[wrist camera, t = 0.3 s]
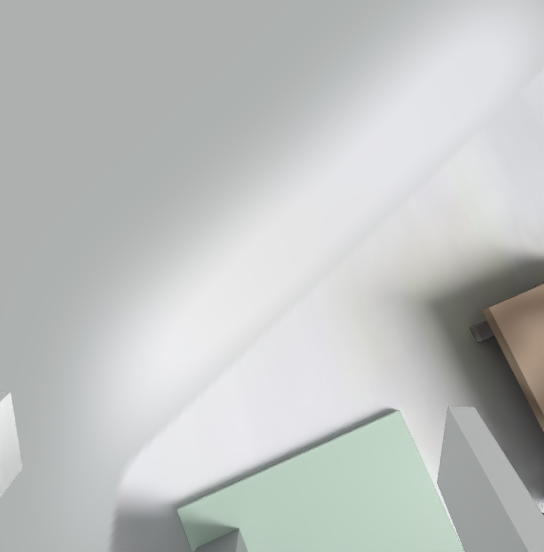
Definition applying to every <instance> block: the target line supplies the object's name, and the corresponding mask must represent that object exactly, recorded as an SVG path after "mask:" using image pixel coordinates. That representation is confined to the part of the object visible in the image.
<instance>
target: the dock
mask: <svg viewBox="0 0 544 552" xmlns="http://www.w3.org/2000/svg"><path fill="white" fill-rule="evenodd" d="M482 312H483V314H484V316H485V318H486V320H487V321H485V322H483V323H480V324H478V325H476V326H473V327H471V328H470V329H471V331H472V333H473V335H474V337H475V339H476V341H477V342H480V341H484V340H486V339H488V338H490V337H493V336H495V337H496V339H497V341H498V343H499V345H500V347H501V349H502V351H503V353H504V355H505V357H506V359H507V361H508V363H509V365H510V367H511V369H512V371H513V373H514V375H515V377H516V379H517V381H518V383H519V385H520V387H521V389H522V391H523V393H524V395H525V397H526V398H527V400H528V402H529V404H530V406H531V408H532V410H533V412H534V414H535V416H536V418H537V420H538V422H539V424H540V426H541V428H542V430H543V432H544V282H543V283H540V284H538V285H536V286H535V288H532V289H530V290H528V291H525V292H523V293H521V294H518V295H516V296H514V297H512V298H509V299H507V300H505V301H502V302H500V303H498V304H495V305H493V306H491V307H488V308H486V309H484V310H482Z"/></svg>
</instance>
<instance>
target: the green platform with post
mask: <svg viewBox="0 0 544 552" xmlns="http://www.w3.org/2000/svg"><path fill="white" fill-rule="evenodd" d="M177 512H178V515H179V517H180V520H181V523H182V526H183V529H184V532H185V534H186V537H187V540H188V543H189V546H190V549H191V551H192V552H463V551H464V550H463V548H462V546H461V543H460V541H459V539H458V537H457V535H456V532H455V530H454V528H453V526H452V524H451V521H450V519H449V517H448V515H447V513H446V510H445V508H444V506H443V504H442V502H441V499H440V497H439V495H438V493H437V491H436V489H435V486H434V484H433V482H432V480H431V478H430V475H429V473H428V471H427V469H426V467H425V464H424V462H423V460H422V458H421V456H420V453H419V451H418V449H417V447H416V445H415V442H414V440H413V438H412V436H411V434H410V432H409V429H408V427H407V425H406V423H405V421H404V418H403V416H402V414H401V412H400V410H396V411H394V412H391V413H389V414H387V415H385V416H382V417H380V418H378V419H376V420H374V421H371V422H369V423H367V424H365V425H362V426H360V427H358V428H356V429H353V430H351V431H349V432H347V433H345V434H342V435H340V436H338V437H336V438H333V439H331V440H329V441H327V442H324V443H322V444H320V445H318V446H316V447H313V448H311V449H309V450H307V451H304V452H302V453H300V454H298V455H295V456H293V457H291V458H289V459H287V460H284V461H282V462H280V463H278V464H275V465H273V466H271V467H269V468H266V469H264V470H262V471H260V472H257V473H255V474H253V475H251V476H249V477H246V478H244V479H242V480H240V481H237V482H235V483H233V484H231V485H228V486H226V487H224V488H222V489H220V490H217V491H215V492H213V493H211V494H208V495H206V496H204V497H202V498H199V499H197V500H195V501H193V502H191V503H188V504H186V505H184V506H182V507H179V508H178V510H177Z"/></svg>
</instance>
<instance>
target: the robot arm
mask: <svg viewBox="0 0 544 552" xmlns="http://www.w3.org/2000/svg"><path fill="white" fill-rule="evenodd" d="M21 469H22V461H21V455H20V449H19V443H18V437H17V430H16V424H15V417H14V411H13V405H12V399H11V392H1V391H0V497H1V496H2V495H3V493H4V492H5V491H6V489H7V488H8V487H9V485H10V484H11V483H12V481H13V480H14V479H15V477H16V476H17V475H18V473H19V472H20V471H21ZM437 484H438V487H439V489H440V492H441V494H442V496H443V499H444V501H445V504H446V506H447V509H448V511H449V514H450V516H451V519H452V521H453V524H454V526H455V528H456V531H457V533H458V536H459V538H460V541H461V543H462V546H463V548H464V551H465V552H544V513H542V512H541V510H540V509H539V507H538V506H537V504H536V503H535V501H534V499H533V498H532V496H531V495H530V493H529V492H528V490H527V489H526V487H525V485H524V484H523V482H522V481H521V479H520V478H519V476H518V475H517V473H516V471H515V470H514V468H513V467H512V465H511V464H510V462H509V460H508V459H507V457H506V456H505V454H504V453H503V451H502V450H501V448H500V446H499V445H498V443H497V442H496V440H495V439H494V437H493V435H492V434H491V432H490V431H489V429H488V428H487V426H486V425H485V423H484V421H483V420H482V418H481V417H480V415H479V414H478V412H477V410H476V409H475V407H461V406H448V411H447V417H446V424H445V431H444V438H443V445H442V452H441V459H440V466H439V473H438V480H437Z"/></svg>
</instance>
